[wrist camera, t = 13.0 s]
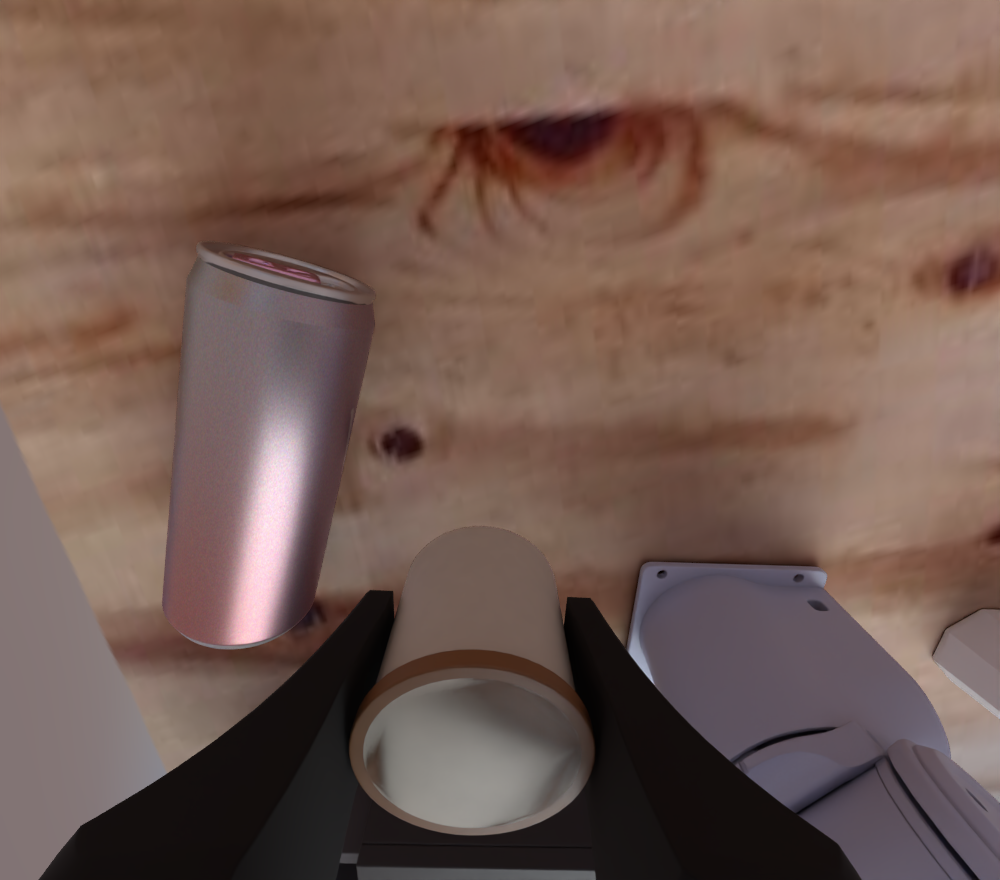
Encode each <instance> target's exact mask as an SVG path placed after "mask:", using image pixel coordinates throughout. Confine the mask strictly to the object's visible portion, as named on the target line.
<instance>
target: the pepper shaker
mask: <svg viewBox="0 0 1000 880" xmlns="http://www.w3.org/2000/svg"><path fill="white" fill-rule="evenodd" d="M933 660H934V661H935V662H936V664H937V665H938V666H939V667H940V669H941V670H942V671H943V672H944V674H945V675H946V676H947V677H948V679H949V680H951V681H952V682H953V683H954V684H956V685H957V686H958V687H959V688H961V689H962V690H963V691H965V692H966V693H967V694H968V695H970V696H971V697H972V698H973V699H975V700H976V701H977V702H979V703H980V704H981V705H982V706H984V707H985V708H986V709H987V710H989V711H990V712H991V713H993V714H994V715H995V716H996V717H998V718H999V719H1000V610H994V609H981V610H979V611H977V612H976V613H974V614H972V615H970V616H968V617H967V618H965V619H963V620H961V621H960V622H958V623H956V624H954V625H952V626H951V627H949V628H947V629H946V630H945V632H944V634H943V636H942V638H941V640H940V643H939V645H938V647H937V649H936V651H935V653H934V655H933Z"/></svg>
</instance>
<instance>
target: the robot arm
mask: <svg viewBox="0 0 1000 880" xmlns="http://www.w3.org/2000/svg"><path fill="white" fill-rule="evenodd" d="M661 570H664V572H663V573H661V574H657V573H658V572H659V571H661ZM797 574H798V576H796V575H797ZM794 576H796V577H794ZM826 580H827V574H826V572H825V571H824V570H823V569H821V568H820V567H813V566H779V565H745V564H711V563H676V562H647V563H645V564H644V565H643V566H642V567H641V569H640V575H639V580H638V586H637V592H636V597H635V603H634V609H633V614H632V620H631V625H630V631H629V637H628V642H627V648H626V649H625V647H624V646H623V645H622V643H621V642H620V640H619V639H618V638H617V636H616V635H615V633H614V632H613V631H612V629H611V628H610V626H609V625H608V623H607V622H606V620H605V619H604V617H603V616H602V614H601V613H600V611H599V610H598V608H597V606H596V605H595V603H594V602H593V601H592V600H591V598H577V597H567V604H566V613H565V621H564V631H565V636H566V642H567V647H568V653H569V658H570V664H571V670H572V675H573V681H574V686H575V692H576V693H577V695H578V696H579V697H580V699H581V700H582V701H583V703H584V705H585V707H586V709H587V711H588V713H589V717H590V720H591V723H592V728H593V733H594V738H595V747H596V753H595V762H594V766H593V769H592V773H591V775H590V777H589V779H588V781H587V783H586V785H585V786H584V793H585V799H586V805H587V811H588V819H589V827H590V835H591V843H592V850H593V858H594V867H595V876H596V880H1000V803H999V802H998V801H997V800H996V799H995V798H994V797H993V796H992V795H991V794H990V793H989V792H988V791H987V790H985V789H984V788H983V787H982V786H981V785H980V784H979V783H978V782H977V781H976V780H975V779H973V778H972V777H971V776H970V775H969V774H968V773H967V772H966V771H964V770H963V769H962V768H961V767H960V766H959V765H957V764H956V763H955V762H954V761H953V760H951V753H950V747H949V743H948V739H947V736H946V734H945V731H944V728H943V726H942V724H941V722H940V719H939V717H938V715H937V713H936V711H935V709H934V707H933V706H932V704H931V702H930V701H929V699H928V698H927V696H926V694H925V693H924V692H923V690H922V689H921V688H920V686H919V685H918V684H917V682H916V681H915V680H914V679H913V678H912V677H911V676H910V675H909V674H908V673H907V672H906V671H905V670H904V669H903V668H902V667H901V666H900V665H899V664H898V663H897V662H896V661H895V660H894V659H893V658H892V657H891V656H890V655H889V654H888V653H887V652H886V651H885V650H884V649H883V648H882V647H881V646H880V645H879V644H878V643H877V642H876V641H875V640H874V639H873V638H872V637H871V636H870V635H869V634H868V633H867V632H866V631H865V630H864V629H863V628H862V627H861V626H860V625H859V624H858V623H857V622H856V621H855V620H854V619H853V618H852V617H851V616H850V615H849V614H848V613H847V612H846V611H845V610H844V609H843V608H842V607H841V606H840V605H839V604H838V603H837V602H836V601H835V600H834V599H833V598H832V597H831V596H830V595H829V594H828V593H827V592H826V591H825V590H824V589H823V588H824V585H825V583H826ZM393 623H394V601H393V591H378V590H370V591H369V592H367V593H366V594H365V596H364V597H363V598H362V599H361V601H360V602H359V603H358V604H357V606H356V607H355V608H354V609H353V610H352V612H351V613H350V614H349V615H348V616H347V618H346V619H345V620H344V621H343V622H342V623H341V625H340V626H339V627H338V628H337V629H336V630H335V631H334V632H333V634H332V635H331V636H330V637H329V638H328V639H327V640H326V641H325V642H324V643H323V645H322V646H321V647H320V648H319V649H318V650H317V651H316V652H315V653H314V654H313V655H312V656H311V657H310V658H309V659H308V660H307V661H306V662H305V663H304V664H303V665H302V666H301V667H300V668H299V669H298V670H297V671H296V672H295V673H294V674H293V675H292V676H291V677H290V678H289V679H288V680H287V681H286V682H285V683H284V684H283V685H282V686H280V687H279V688H278V689H277V690H276V691H275V692H274V693H273V694H272V695H271V696H269V697H268V698H267V699H266V700H265V701H264V702H262V703H261V704H260V705H259V706H258V707H257V708H255V709H254V710H253V711H252V712H251V713H249V714H248V715H247V716H246V717H244V718H243V719H242V720H241V721H239V722H238V723H237V724H236V725H234V726H233V727H232V728H231V729H229V730H228V731H227V732H225V733H224V734H223V735H222V736H220V737H219V738H218V739H216V740H215V741H214V742H212V743H211V744H210V745H208V746H207V747H205V748H204V749H203V750H201V751H200V752H198V753H197V754H195V755H194V756H192V757H191V758H190V759H188V760H187V761H185V762H184V763H182V764H181V765H179V766H178V767H176V768H175V769H173V770H172V771H170V772H169V773H167V774H166V775H164V776H163V777H161V778H160V779H158V780H157V781H155V782H154V783H152V784H151V785H149V786H147V787H146V788H144V789H142V790H141V791H139V792H138V793H136V794H134V795H132V796H131V797H129V798H128V799H126V800H124V801H122V802H121V803H119V804H117V805H116V806H114V807H112V808H111V809H109V810H108V811H106V812H104V813H102V814H101V815H99V816H98V817H96V818H94V819H92V820H90V821H89V822H87V823H85V824H83V825H82V826H80V828H79V829H78V830H77V831H76V833H75V834H74V835H73V836H72V837H71V839H70V840H69V841H68V842H67V843H66V845H65V846H64V847H63V848H62V849H61V851H60V852H59V853H58V854H57V856H56V857H55V859H54V860H53V861H52V862H51V864H50V865H49V867H48V868H47V869H46V871H45V872H44V874H43V875H42V876H41V877H40V879H39V880H336V877H337V872H338V868H339V863H340V859H341V854H342V849H343V845H344V841H345V836H346V832H347V827H348V823H349V819H350V814H351V810H352V806H353V801H354V798H355V794H356V791H357V787H358V783H359V782H358V780H357V779H356V777H355V774H354V772H353V769H352V767H351V762H350V757H349V739H350V733H351V729H352V726H353V723H354V720H355V717H356V714H357V711H358V709H359V706H360V704H361V703H362V701H363V699H364V698H365V696H366V695H367V693H368V692H369V691H370V690H371V689H372V688H373V686H374V685H375V684H376V681H377V678H378V674H379V671H380V667H381V664H382V661H383V657H384V654H385V650H386V647H387V643H388V640H389V637H390V633H391V630H392V626H393ZM654 684H655V685H654Z"/></svg>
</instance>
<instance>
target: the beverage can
mask: <svg viewBox="0 0 1000 880" xmlns="http://www.w3.org/2000/svg"><path fill="white" fill-rule="evenodd" d="M196 251H197V253H198V256H197V259H196V261H195V263H194V265H193V267H192V269H191V270H190V272H189V274H188V276H187V279H186V293H185V306H184V319H183V332H182V346H181V359H180V372H179V385H178V399H177V412H176V425H175V438H174V452H173V465H172V478H171V492H170V505H169V518H168V531H167V545H166V558H165V571H164V584H163V598H162V606H163V611H164V614H165V616H166V618H167V619H168V621H169V622H170V623H171V625H172V626H173V627H174V628H175V629H176V630H177V631H179V632H180V633H181V634H182V635H183V636H185V637H186V638H188V639H189V640H191V641H193V642H195V643H197V644H200V645H203V646H207V647H211V648H217V649H242V648H249V647H254V646H258V645H261V644H264V643H267V642H269V641H272V640H274V639H276V638H278V637H279V636H281V635H283V634H284V633H286V632H287V631H289V630H290V629H291V628H292V627H294V626H295V625H296V624H297V623H298V622H299V621H300V620H301V619H302V618H303V617H304V616H305V615H306V614H307V613H308V611H309V610H310V608H311V606H312V604H313V601H314V598H315V594H316V589H317V585H318V580H319V576H320V571H321V567H322V562H323V558H324V553H325V548H326V544H327V539H328V535H329V530H330V526H331V521H332V517H333V512H334V508H335V503H336V499H337V494H338V490H339V485H340V481H341V476H342V472H343V467H344V462H345V458H346V453H347V449H348V444H349V440H350V435H351V431H352V426H353V422H354V417H355V413H356V408H357V404H358V399H359V395H360V390H361V386H362V381H363V377H364V372H365V367H366V363H367V358H368V354H369V349H370V345H371V340H372V336H373V331H374V327H375V320H374V312H373V300H375V297H376V292H375V291H374V289H373V288H371V287H370V286H368V285H366V284H364V283H362V282H360V281H358V280H356V279H353V278H351V277H348V276H346V275H343V274H341V273H338V272H335V271H332V270H330V269H327V268H324V267H321V266H318V265H314V264H311V263H308V262H305V261H301V260H298V259H294V258H291V257H287V256H284V255H280V254H276V253H272V252H268V251H264V250H260V249H256V248H251V247H247V246H242V245H236V244H231V243H225V242H217V241H201V242H199V243H198V244H197V246H196Z"/></svg>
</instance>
